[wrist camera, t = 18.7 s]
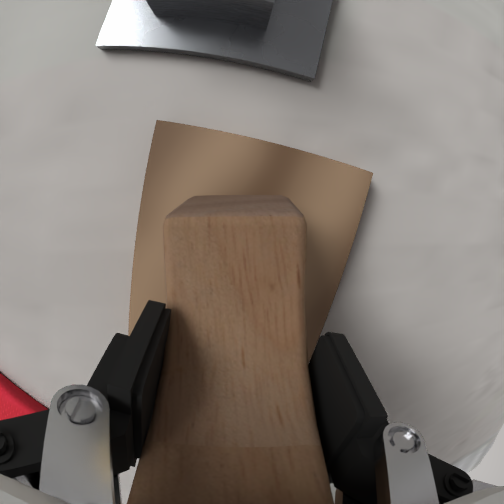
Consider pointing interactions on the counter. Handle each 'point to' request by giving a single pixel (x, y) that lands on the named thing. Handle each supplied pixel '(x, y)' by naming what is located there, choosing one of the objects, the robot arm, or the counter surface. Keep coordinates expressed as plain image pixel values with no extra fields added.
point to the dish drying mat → (15, 401)
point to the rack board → (248, 183)
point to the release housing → (224, 31)
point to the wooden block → (234, 361)
